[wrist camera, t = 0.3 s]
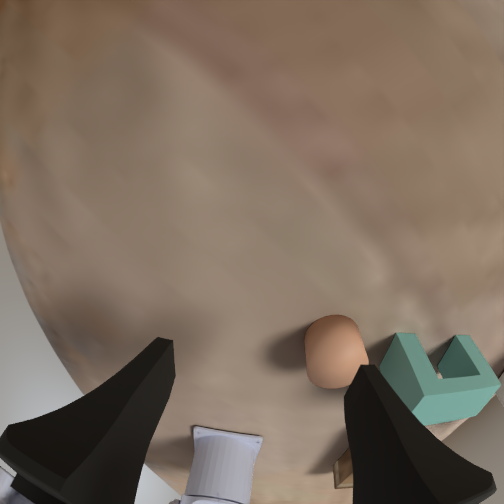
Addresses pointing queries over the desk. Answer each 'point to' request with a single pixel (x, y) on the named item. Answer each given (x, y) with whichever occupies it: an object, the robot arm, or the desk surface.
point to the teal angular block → (439, 390)
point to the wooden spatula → (343, 471)
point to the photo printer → (501, 390)
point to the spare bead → (334, 351)
